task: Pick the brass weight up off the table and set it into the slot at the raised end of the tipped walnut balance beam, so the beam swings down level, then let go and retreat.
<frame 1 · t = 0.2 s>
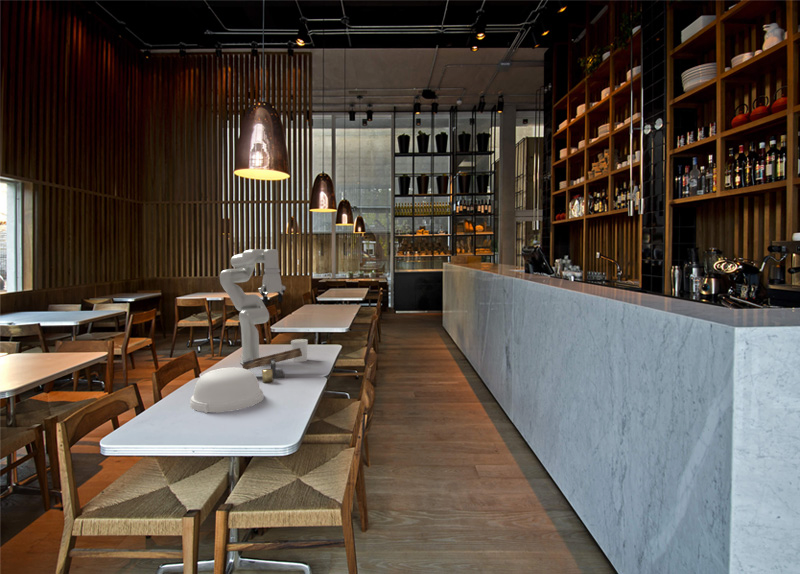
hand: (273, 302, 266), 37 cm above the table, tool pointing down, fingers open, 9 cm apart
dome cover: (227, 402, 210), on the table
candle holder: (299, 360, 287), on the table
brass weight: (267, 381, 240), on the table
balance beam: (272, 357, 253), point 9 cm above the table, hinge at -10.0°
beam stand: (273, 375, 254), on the table
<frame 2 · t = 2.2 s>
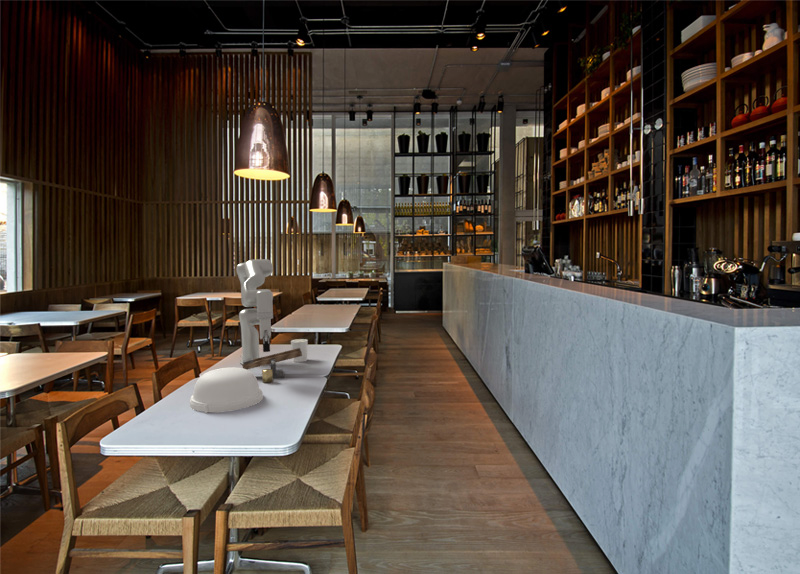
hand: (266, 350, 239), 16 cm above the table, tool pointing down, fingers open, 9 cm apart
nothing on the table moved.
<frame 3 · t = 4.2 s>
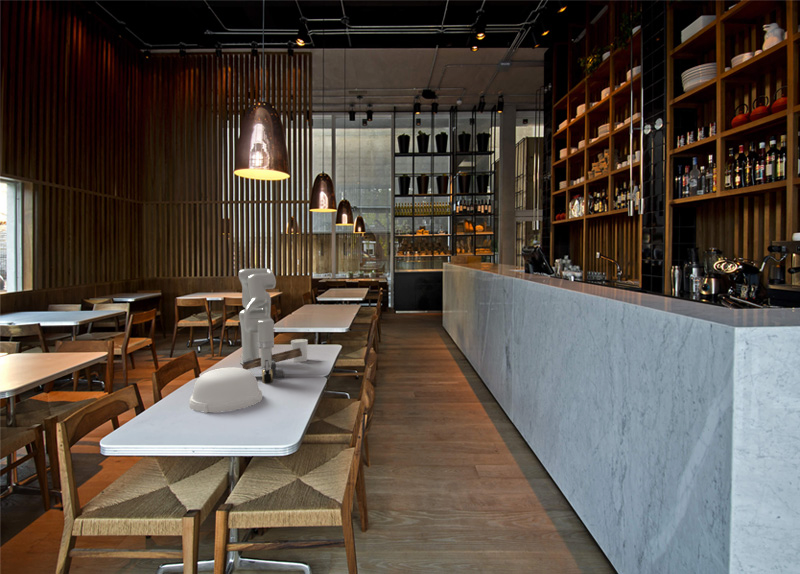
hand: (267, 380, 240), 1 cm above the table, tool pointing down, fingers closed on brass weight, 5 cm apart
brass weight: (267, 381, 240), on the table, touching gripper
everything else where it was.
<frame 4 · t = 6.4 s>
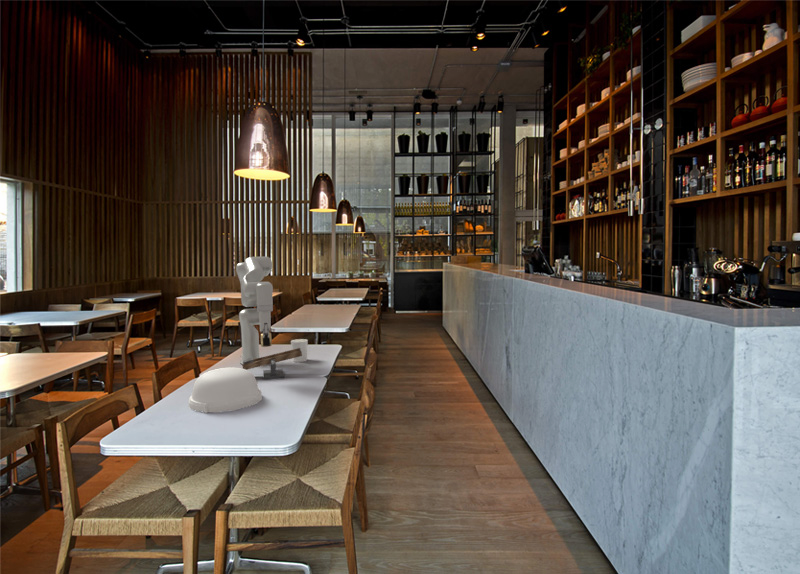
hand: (266, 344, 239), 19 cm above the table, tool pointing down, fingers closed on brass weight, 5 cm apart
brass weight: (266, 345, 240), point 18 cm above the table, touching gripper
everything else where it was.
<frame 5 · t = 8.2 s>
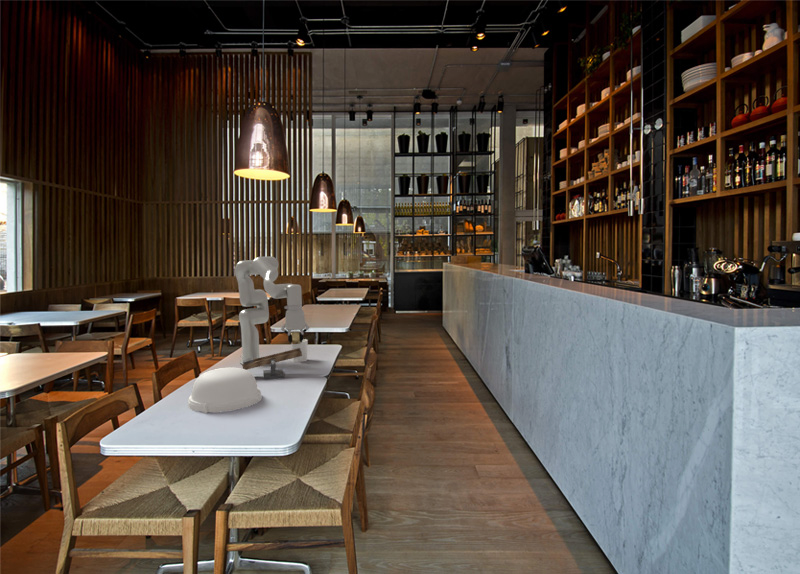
hand: (295, 341, 256), 17 cm above the table, tool pointing down, fingers closed on brass weight, 5 cm apart
brass weight: (295, 343, 256), point 16 cm above the table, touching gripper
everything else where it was.
when the fingers open (13 cm above the table, at t = 9.1 s): brass weight drops 4 cm, resting on balance beam.
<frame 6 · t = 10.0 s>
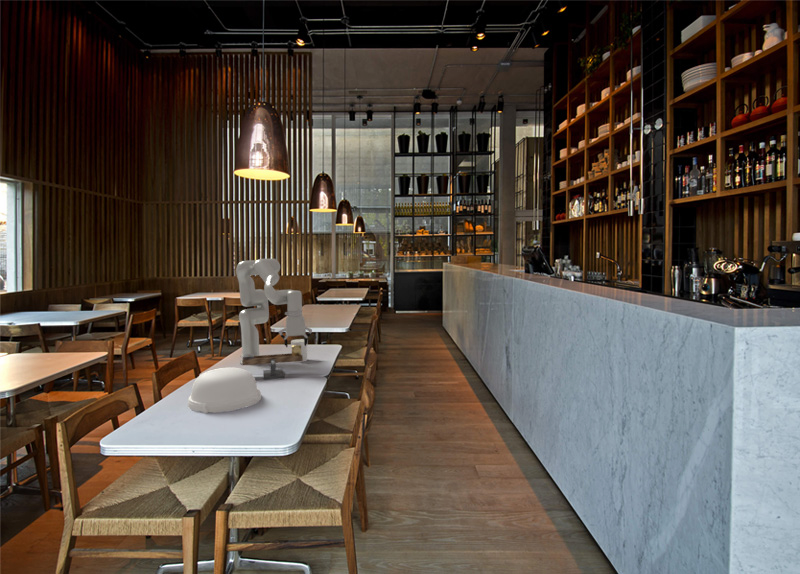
hand: (296, 346, 256), 14 cm above the table, tool pointing down, fingers open, 9 cm apart
brass weight: (296, 356, 257), point 9 cm above the table, touching balance beam
balance beam: (272, 357, 253), point 9 cm above the table, hinge at 0.3°, touching brass weight
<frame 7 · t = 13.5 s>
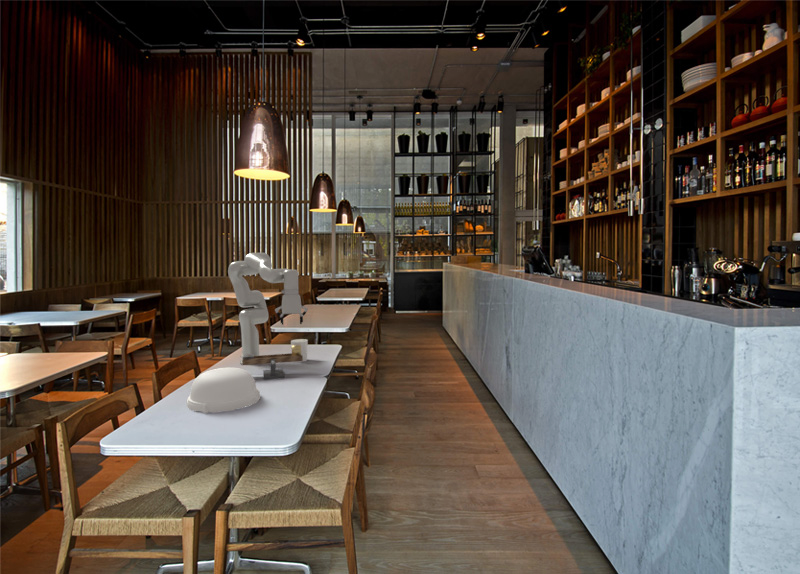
hand: (291, 324, 261), 25 cm above the table, tool pointing down, fingers open, 9 cm apart
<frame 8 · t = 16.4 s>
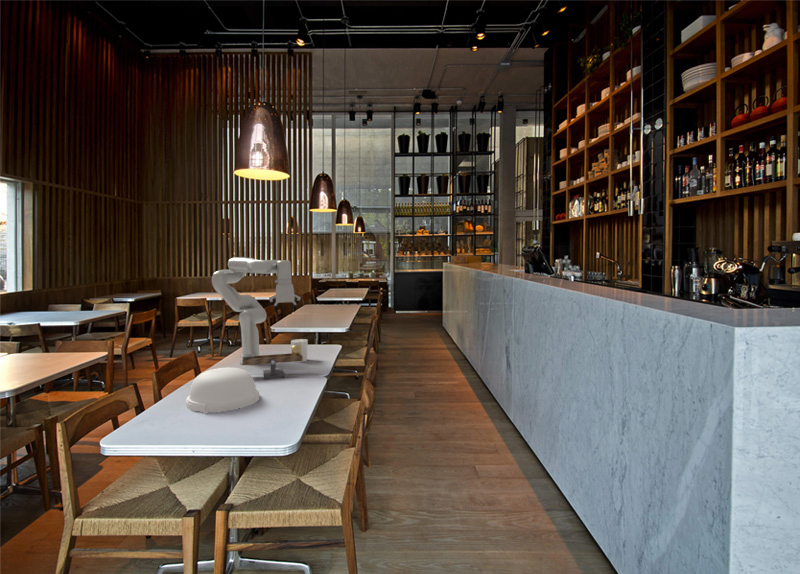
hand: (285, 312, 273), 30 cm above the table, tool pointing down, fingers open, 9 cm apart
at the end: balance beam at +0° (first picture: -10°); brass weight 0.4 cm from the target spot on the balance beam, point 0.7 cm above the balance beam's base; brass weight tilted 0° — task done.
